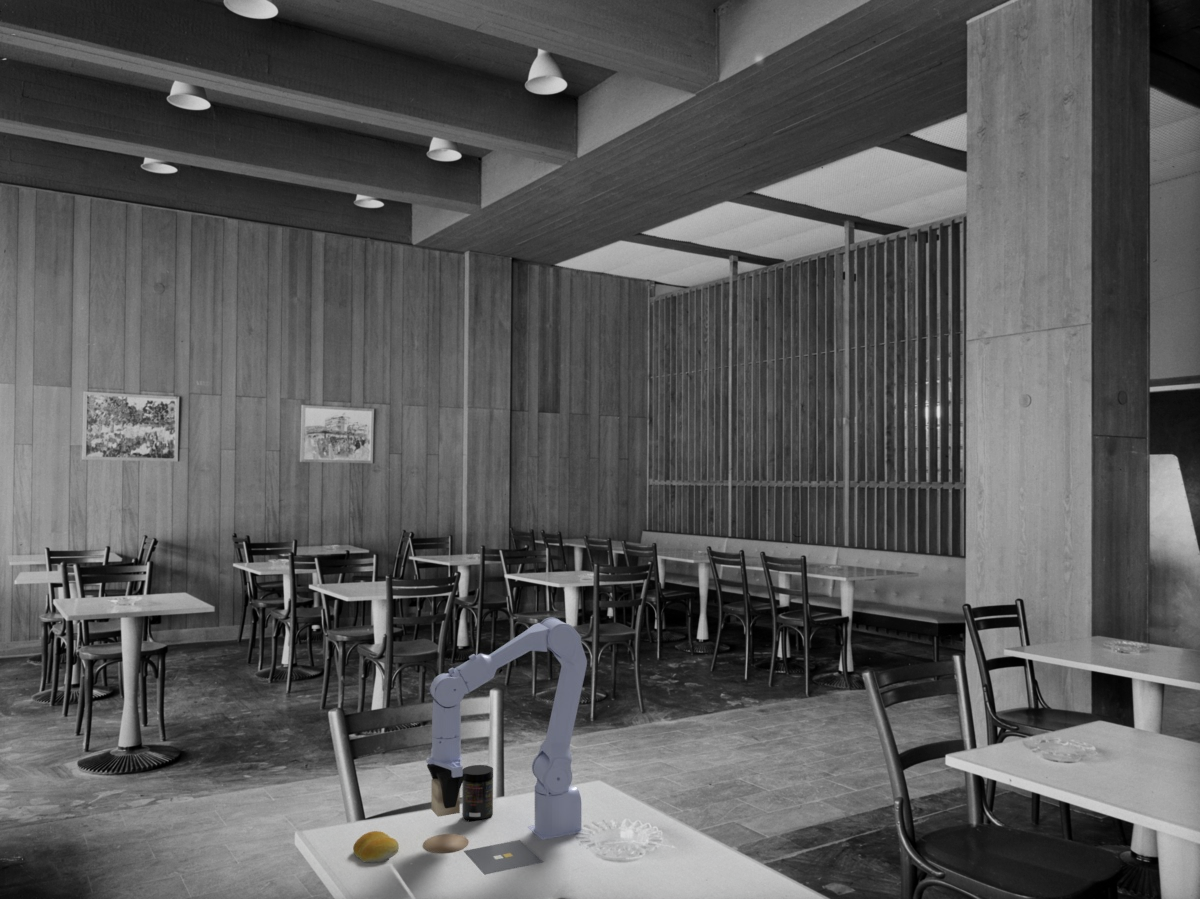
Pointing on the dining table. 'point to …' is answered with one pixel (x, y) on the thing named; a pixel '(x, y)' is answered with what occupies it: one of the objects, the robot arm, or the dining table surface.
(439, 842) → the cork coaster
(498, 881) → the dining table surface
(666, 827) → the dining table surface
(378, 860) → the bread roll
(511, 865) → the tile
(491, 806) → the supplement container
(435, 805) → the maple block
